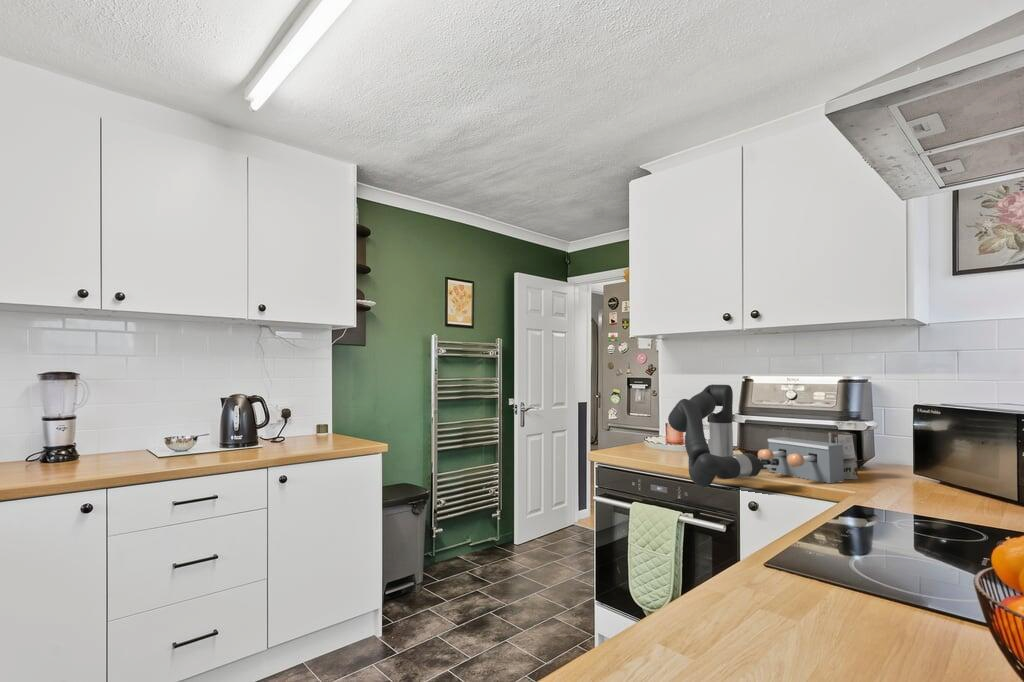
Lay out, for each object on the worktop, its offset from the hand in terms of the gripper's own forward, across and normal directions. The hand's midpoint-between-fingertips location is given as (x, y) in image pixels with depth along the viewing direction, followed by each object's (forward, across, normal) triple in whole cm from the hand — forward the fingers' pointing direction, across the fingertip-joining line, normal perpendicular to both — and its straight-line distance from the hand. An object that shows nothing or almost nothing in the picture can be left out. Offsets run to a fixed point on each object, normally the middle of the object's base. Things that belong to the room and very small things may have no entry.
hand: (777, 461), depth 185 cm
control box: (+23, +6, +8) cm, 25 cm away
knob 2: (+14, 0, +2) cm, 14 cm away
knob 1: (+14, +12, +2) cm, 19 cm away
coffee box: (+35, -1, +8) cm, 36 cm away
